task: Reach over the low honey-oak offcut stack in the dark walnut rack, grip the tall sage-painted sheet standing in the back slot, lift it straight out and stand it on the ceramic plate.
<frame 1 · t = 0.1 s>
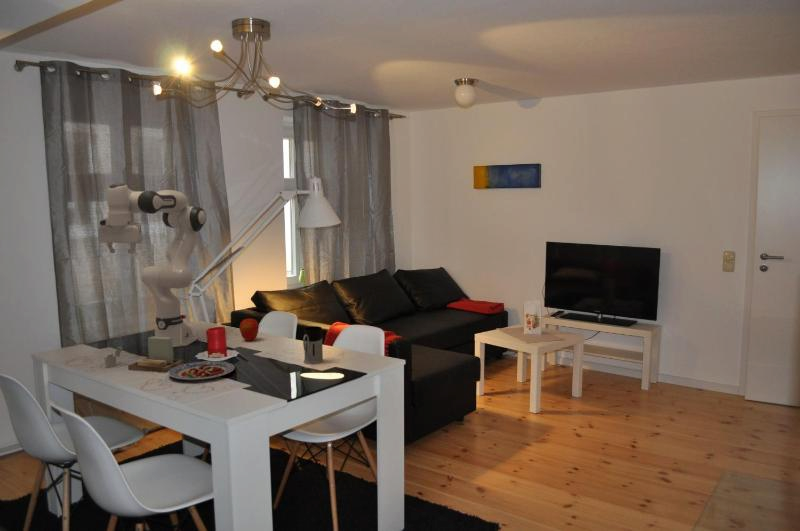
hand: (121, 253, 272), 48 cm above the table, tool pointing down, fingers open, 8 cm apart
apple: (249, 341, 314), on the table
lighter: (114, 366, 269), on the table
glass holder: (311, 363, 271), on the table
tall sheet: (161, 365, 270), resting in walnut rack
walnut rack: (157, 366, 267), on the table
ceramic plate: (202, 375, 256), on the table
offcut stack: (152, 369, 264), resting in walnut rack
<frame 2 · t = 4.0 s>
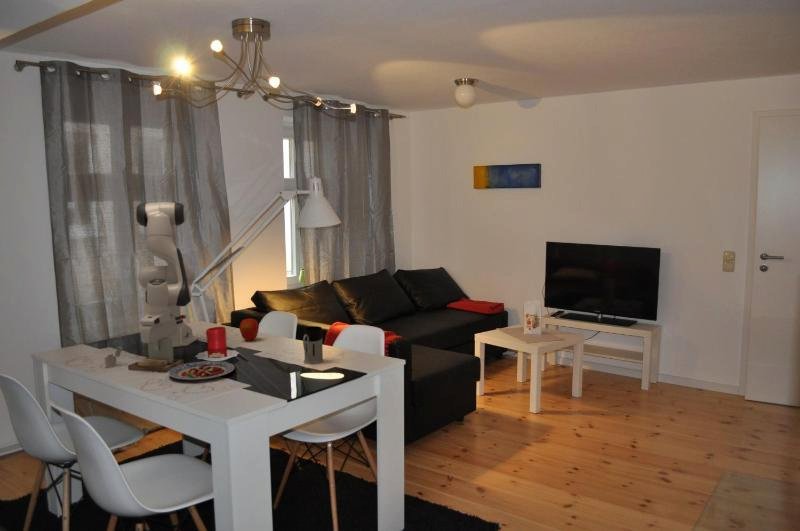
hand: (160, 348, 269), 7 cm above the table, tool pointing down, fingers closed on tall sheet, 3 cm apart
tall sheet: (161, 365, 270), resting in walnut rack, touching gripper
everything else where it was.
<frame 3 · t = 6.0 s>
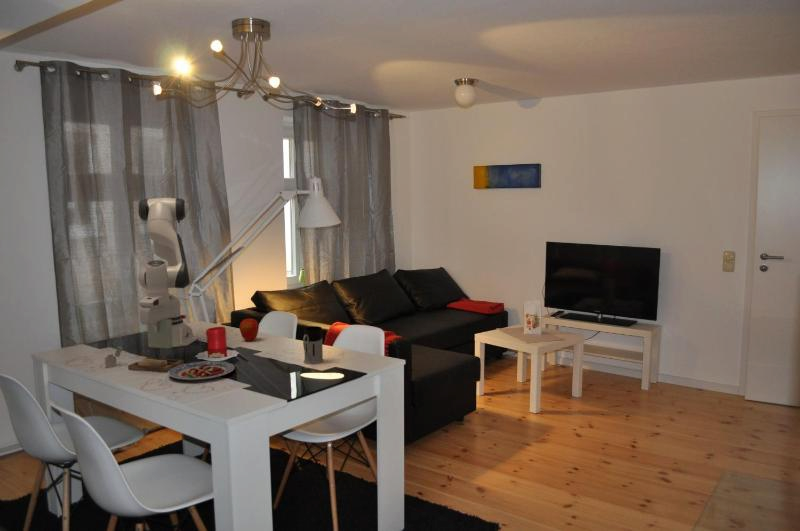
hand: (159, 330, 269), 15 cm above the table, tool pointing down, fingers closed on tall sheet, 3 cm apart
tall sheet: (160, 346, 270), point 8 cm above the table, touching gripper
everything else where it was.
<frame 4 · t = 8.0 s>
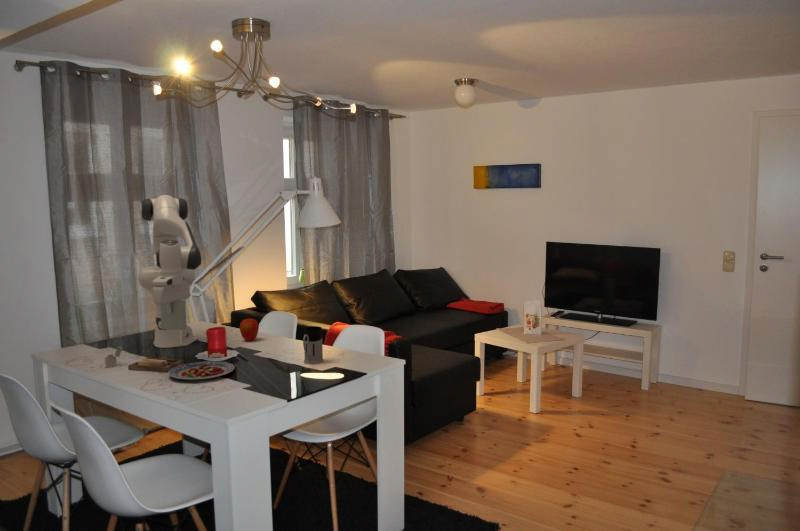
hand: (173, 312, 262), 24 cm above the table, tool pointing down, fingers closed on tall sheet, 3 cm apart
tall sheet: (173, 328, 263), point 17 cm above the table, touching gripper
everything else where it was.
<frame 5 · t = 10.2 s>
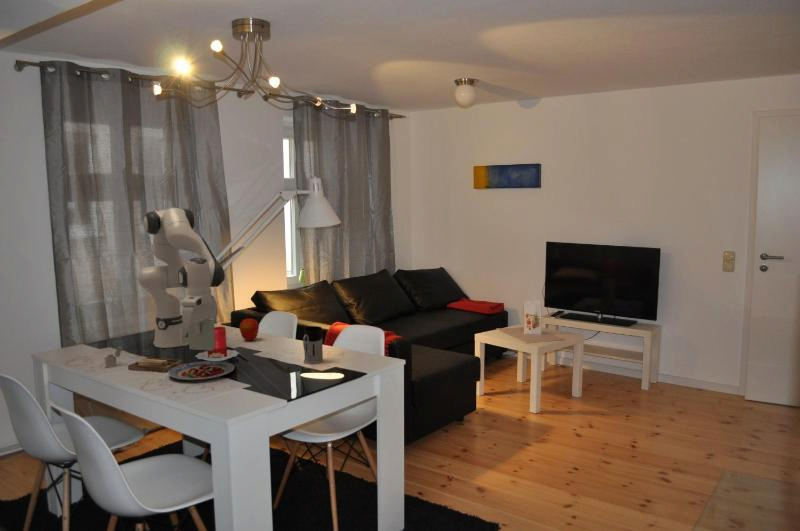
hand: (201, 331, 255), 17 cm above the table, tool pointing down, fingers closed on tall sheet, 3 cm apart
tall sheet: (202, 348, 256), point 10 cm above the table, touching gripper
everything else where it was.
when the fingers open (12 cm above the table, at t = 11.9 s): tall sheet drops 2 cm, resting on ceramic plate.
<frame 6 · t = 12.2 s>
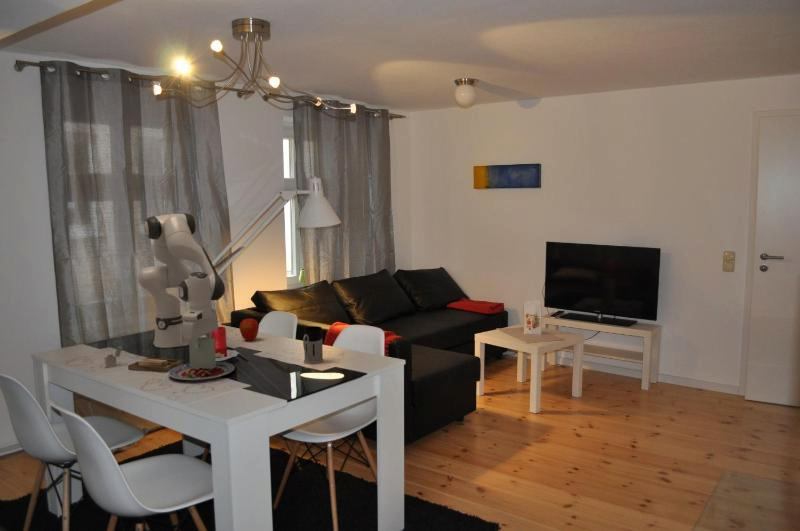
hand: (202, 345, 256), 12 cm above the table, tool pointing down, fingers open, 6 cm apart
tall sheet: (202, 367, 257), point 3 cm above the table, touching ceramic plate
ceramic plate: (202, 375, 256), on the table, touching tall sheet
everything else where it was.
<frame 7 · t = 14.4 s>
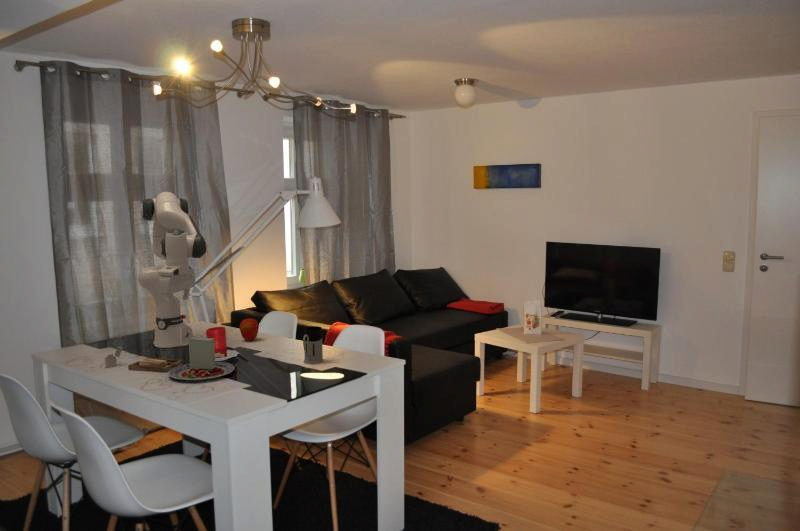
hand: (179, 301, 262), 29 cm above the table, tool pointing down, fingers open, 8 cm apart
nothing on the table moved.
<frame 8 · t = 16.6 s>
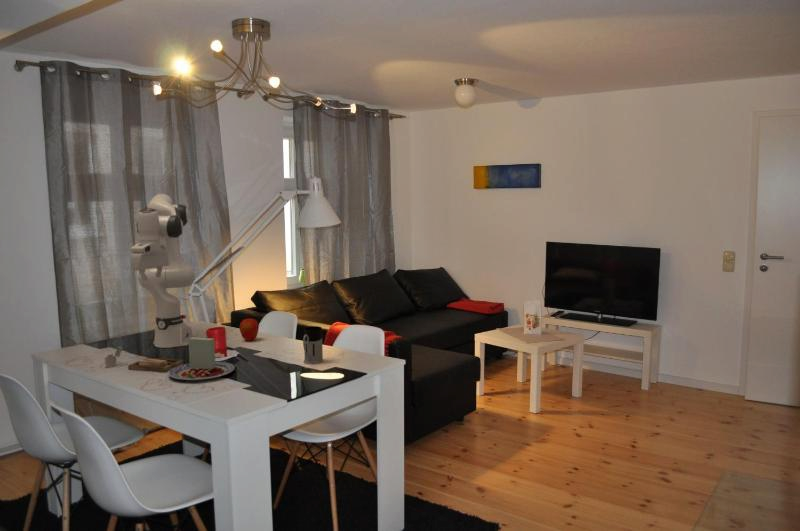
hand: (151, 278, 270), 37 cm above the table, tool pointing down, fingers open, 8 cm apart
nothing on the table moved.
at the end: tall sheet inside the target area in the ceramic plate (0.7 cm from its centre), point 3.2 cm above the ceramic plate's base; tall sheet touching ceramic plate; offcut stack moved 0.7 cm from its start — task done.
